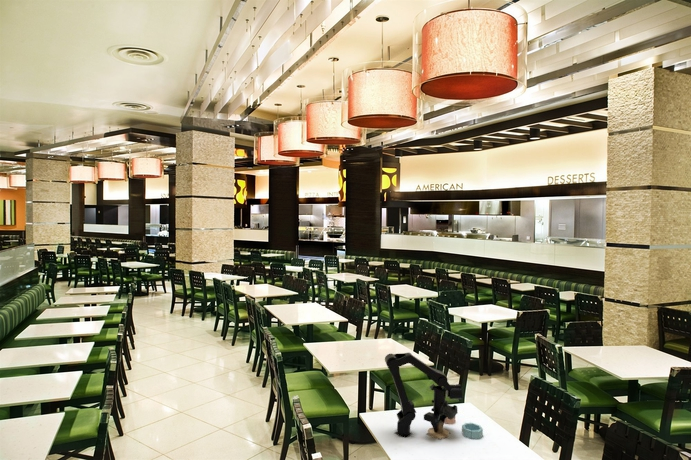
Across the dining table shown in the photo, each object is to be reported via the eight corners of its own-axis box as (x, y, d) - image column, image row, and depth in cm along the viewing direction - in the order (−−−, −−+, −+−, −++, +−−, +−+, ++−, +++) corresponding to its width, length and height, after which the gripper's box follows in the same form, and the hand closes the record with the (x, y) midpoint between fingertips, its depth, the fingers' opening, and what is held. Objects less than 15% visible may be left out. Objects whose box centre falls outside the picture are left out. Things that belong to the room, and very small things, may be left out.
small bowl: (450, 426, 232) (450, 419, 232) (438, 421, 237) (438, 414, 237) (457, 421, 237) (457, 415, 237) (445, 417, 242) (445, 411, 242)
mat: (440, 440, 216) (440, 439, 216) (425, 435, 221) (425, 434, 221) (450, 433, 224) (451, 433, 224) (436, 428, 229) (436, 427, 229)
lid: (442, 440, 215) (442, 428, 215) (423, 433, 222) (424, 421, 222) (452, 433, 223) (453, 421, 223) (434, 427, 230) (435, 415, 229)
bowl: (476, 441, 216) (476, 433, 216) (459, 435, 222) (459, 427, 222) (484, 435, 223) (485, 427, 223) (467, 429, 229) (468, 421, 229)
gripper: (444, 409, 210) (443, 443, 210) (464, 398, 224) (463, 430, 224) (423, 402, 217) (422, 434, 218) (443, 391, 231) (442, 422, 231)
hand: (438, 430), depth 222 cm, fingers open, 4 cm apart
